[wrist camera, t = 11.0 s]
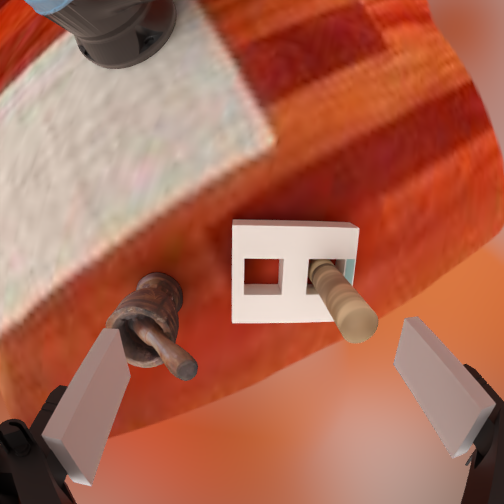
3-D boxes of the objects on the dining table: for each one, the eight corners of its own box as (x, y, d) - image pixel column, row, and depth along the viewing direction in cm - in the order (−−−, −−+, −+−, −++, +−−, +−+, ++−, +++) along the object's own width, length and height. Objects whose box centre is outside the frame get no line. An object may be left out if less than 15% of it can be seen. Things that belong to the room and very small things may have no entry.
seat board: (232, 219, 45) (232, 225, 41) (349, 222, 46) (359, 228, 42) (232, 310, 49) (231, 323, 45) (339, 309, 50) (347, 321, 46)
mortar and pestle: (189, 250, 46) (159, 315, 27) (216, 300, 48) (206, 386, 29) (124, 281, 47) (69, 352, 28) (152, 326, 49) (115, 411, 30)
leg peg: (306, 254, 47) (344, 309, 30) (332, 254, 47) (381, 307, 30) (304, 280, 48) (338, 344, 31) (329, 280, 48) (374, 341, 31)
